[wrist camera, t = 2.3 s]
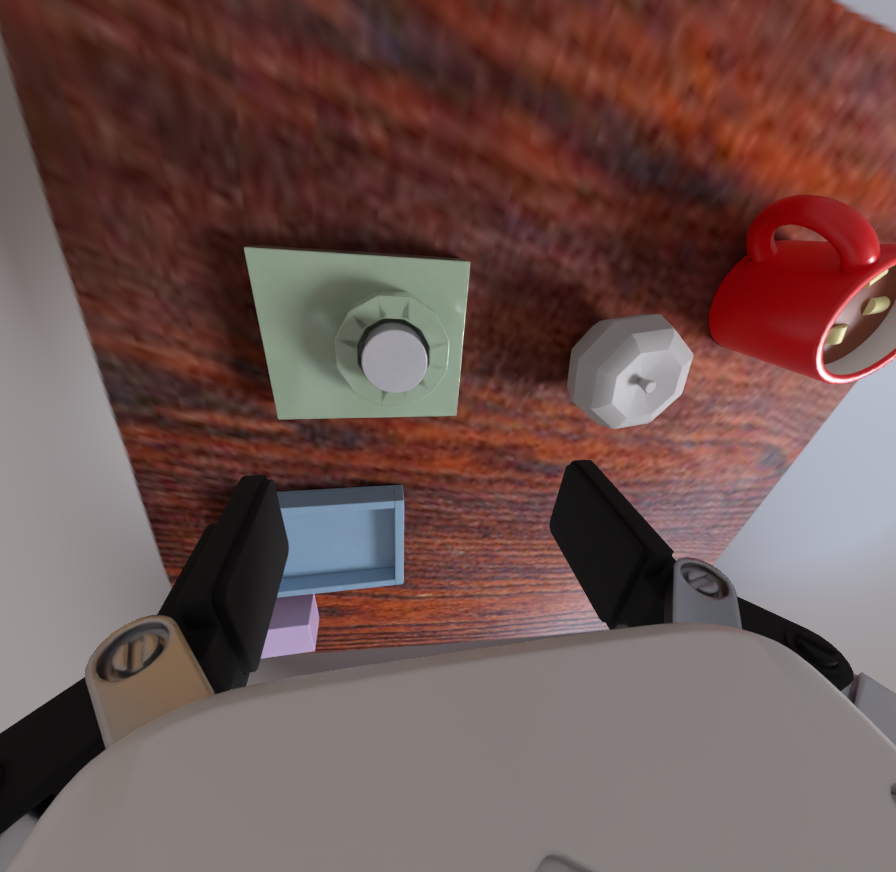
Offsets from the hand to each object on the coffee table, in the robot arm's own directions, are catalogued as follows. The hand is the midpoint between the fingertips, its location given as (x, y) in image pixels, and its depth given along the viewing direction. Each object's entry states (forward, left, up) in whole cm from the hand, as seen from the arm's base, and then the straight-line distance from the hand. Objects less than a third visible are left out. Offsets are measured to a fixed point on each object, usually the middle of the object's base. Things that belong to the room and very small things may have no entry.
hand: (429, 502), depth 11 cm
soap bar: (-12, -27, -15) cm, 33 cm away
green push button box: (-2, +1, -15) cm, 16 cm away
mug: (+26, +6, -16) cm, 31 cm away
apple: (+15, 0, -16) cm, 22 cm away
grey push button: (-1, +1, -12) cm, 12 cm away
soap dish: (-6, -17, -15) cm, 24 cm away
